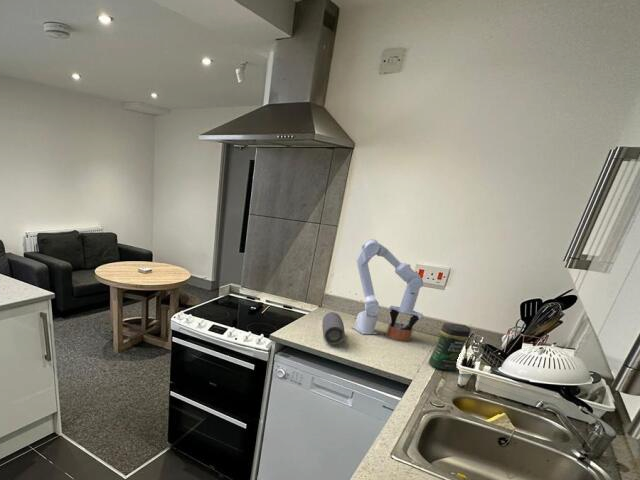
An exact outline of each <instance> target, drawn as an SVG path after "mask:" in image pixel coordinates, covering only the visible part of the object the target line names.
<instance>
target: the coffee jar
mask: <svg viewBox="0 0 640 480" xmlns="http://www.w3.org/2000/svg"><path fill="white" fill-rule="evenodd" d="M471 332H472V330H471V327H469V326H467V325H466V324H461V323H459V324H458V323H451V322H448V323H447V322H445V323H443V325H442V327H441V328H440V331H439V337H438V341H437V342H436V345H435V347H434V349H433V351H432V353H431V355H430V357H429V360H428V364H429V365H430V367H433V368H435V369H437V370H441V371H449V372H450V371H451V372H455V371H456V370H457V368H456V362H457V359H458V357H459V354H460V353H461V354H462V351H463V347H464V345H465V343H466V342H467V341H468V340H469V338H470V335H471ZM461 354H460V355H461Z"/></svg>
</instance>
